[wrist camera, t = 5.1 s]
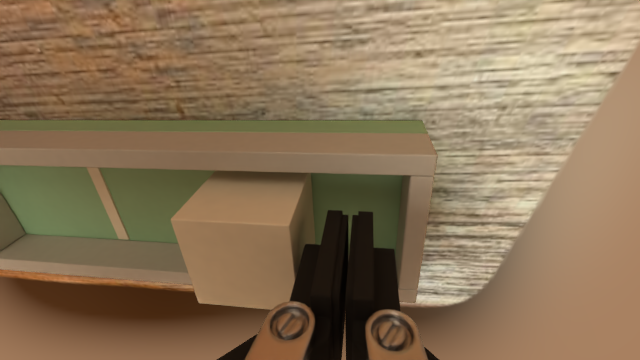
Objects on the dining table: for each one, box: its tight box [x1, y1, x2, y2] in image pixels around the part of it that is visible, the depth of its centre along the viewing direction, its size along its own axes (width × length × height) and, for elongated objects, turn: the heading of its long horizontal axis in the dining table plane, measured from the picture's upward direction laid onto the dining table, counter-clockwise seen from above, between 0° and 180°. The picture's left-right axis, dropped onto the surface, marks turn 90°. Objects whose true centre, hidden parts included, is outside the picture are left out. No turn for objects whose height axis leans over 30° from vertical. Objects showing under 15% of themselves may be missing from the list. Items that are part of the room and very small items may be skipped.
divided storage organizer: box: [0, 120, 437, 303], centre depth 15 cm, size 22×7×4 cm, turn 93°
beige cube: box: [171, 171, 315, 309], centre depth 13 cm, size 4×4×4 cm
